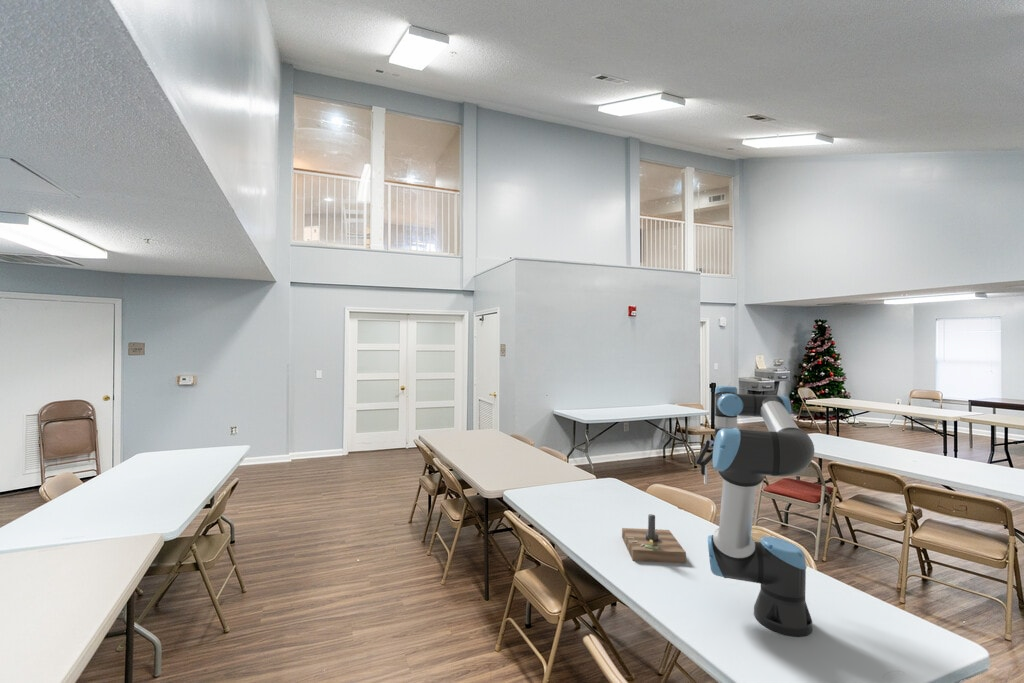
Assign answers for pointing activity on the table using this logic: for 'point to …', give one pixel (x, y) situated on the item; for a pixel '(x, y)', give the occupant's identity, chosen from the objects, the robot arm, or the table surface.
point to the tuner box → (653, 546)
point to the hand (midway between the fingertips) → (725, 485)
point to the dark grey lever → (651, 530)
